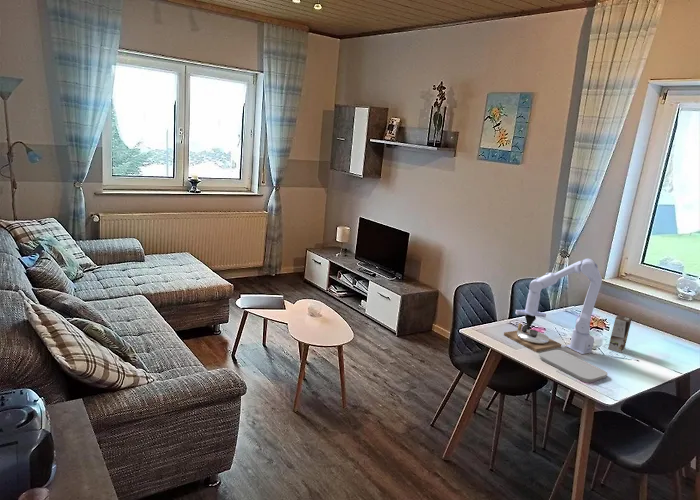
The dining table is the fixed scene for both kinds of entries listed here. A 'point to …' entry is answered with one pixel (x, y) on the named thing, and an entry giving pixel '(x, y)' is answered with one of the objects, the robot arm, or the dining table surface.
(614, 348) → the coffee box
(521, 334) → the white round dish
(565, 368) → the tablet
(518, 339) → the base board
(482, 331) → the dining table surface
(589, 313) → the robot arm
